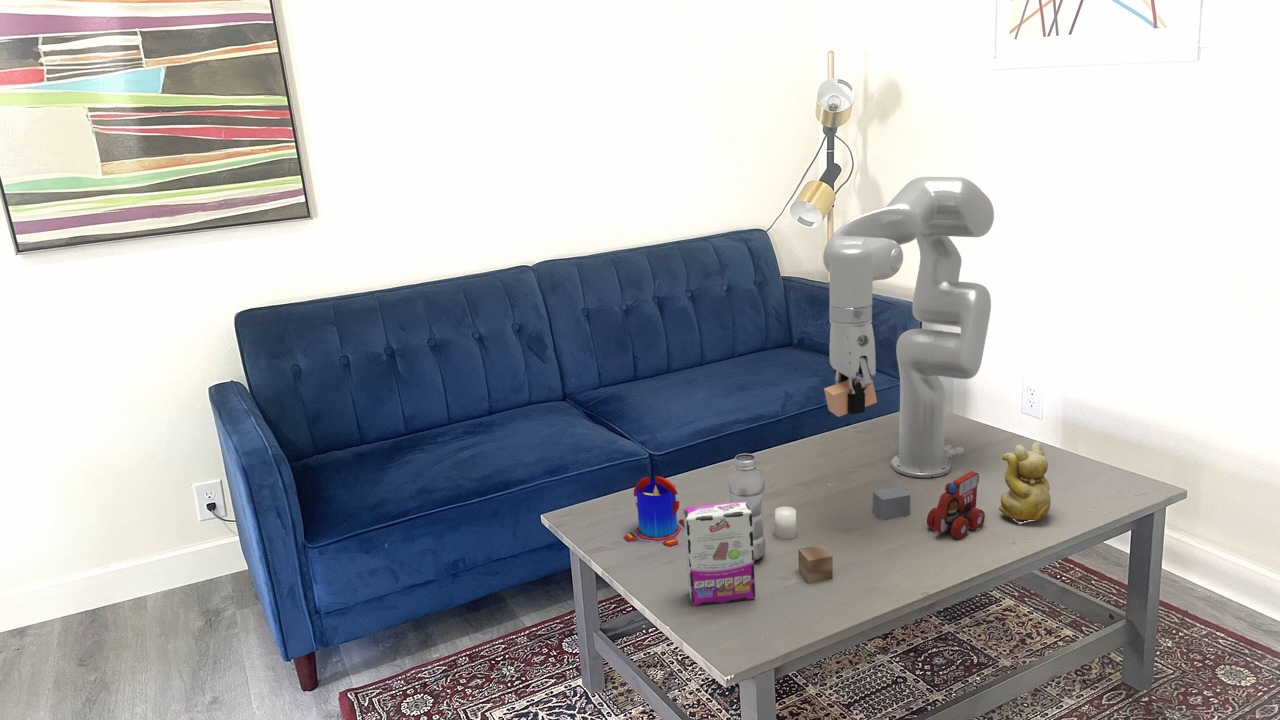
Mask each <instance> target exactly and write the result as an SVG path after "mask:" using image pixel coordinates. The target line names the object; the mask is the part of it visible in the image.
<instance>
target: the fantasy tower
mask: <svg viewBox="0 0 1280 720" xmlns="http://www.w3.org/2000/svg"><path fill="white" fill-rule="evenodd" d="M676 495H678V492H677V488H676V486H675V485H674V484H673V483H672V482H671V481H670V480H669V479H667V478H665V477H663V476H654V479H651V480H650V478H649V476H645V477H642V478H641V479H640V480H639V481H638V482H637V483H636V485H635V486H634V489H633V497H636V502H635V505H636V508H637V518H638V519H637V520H638V526H637V527H636V528H635V530H634V531H633V532H632V531H631V532H628V533H626V534H625V535H624V536H623V537H622V539H624V540H625V541H626V542H627V543H635V542H636V543H637V542H638V541H640V542H643V543H644V542H645V543H651V542H655V543H654V544H659V543H660V544H661V545H662V544H663V545H664V547H665V546H668V547H670V548H673V547H672V546H674V547H677V546H676V545H678V543H679V540H678V539H676V538H677V537H678V536H679V535H680V536H681V534H682V533H683V532H682V530H683V531H684V529H685V527H684V518H682V519H679V520H678V515H677V513H678V510H679V508H680V501H679V500H677V497H676ZM678 522H679V523H680V524H681V525H682V526H683V527H684V528H683V527H682V526H681V525H680V524H679V523H678ZM681 532H682V533H681ZM680 533H681V534H680ZM680 536H679V537H680ZM679 537H678V538H679ZM656 542H657V543H656ZM662 542H663V543H662ZM663 545H662V546H663ZM678 546H679V545H678ZM668 547H667V548H668Z"/></svg>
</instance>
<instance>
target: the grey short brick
mask: <svg viewBox="0 0 1280 720" xmlns="http://www.w3.org/2000/svg"><path fill="white" fill-rule="evenodd" d="M872 512H873V514H875V515H876V516H877V517H878V518H879V519H880V520H882V521H884V520H890V519H891V518H892V519H896V518H902V516H903V517H908V515H909V516H910V515H911V494H909V492H907V491H906V490H905V489H904V488H902V487H893V488H887V489H886V488H885V489H882V490H881V489H880V490H876V491H872ZM892 519H891V520H892Z"/></svg>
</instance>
